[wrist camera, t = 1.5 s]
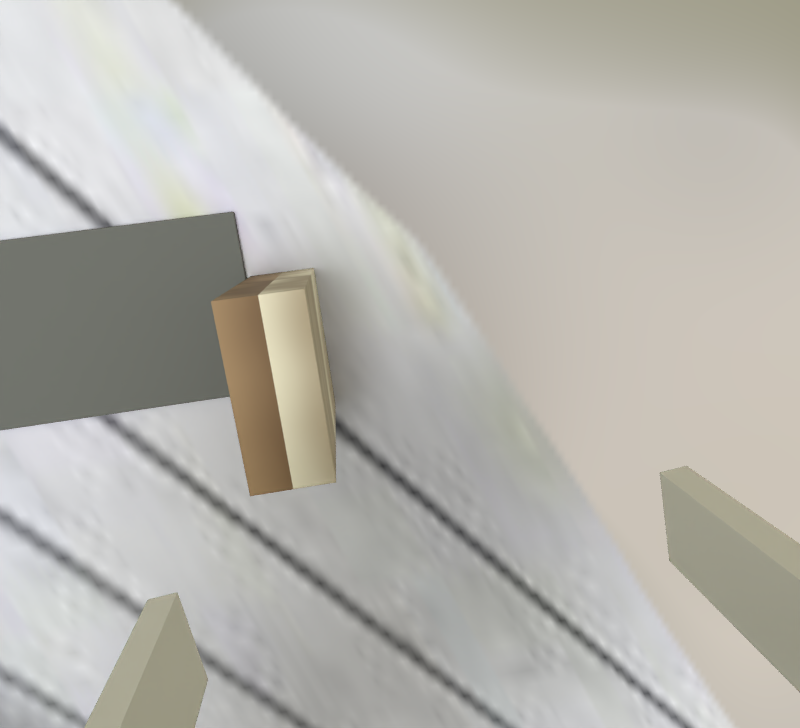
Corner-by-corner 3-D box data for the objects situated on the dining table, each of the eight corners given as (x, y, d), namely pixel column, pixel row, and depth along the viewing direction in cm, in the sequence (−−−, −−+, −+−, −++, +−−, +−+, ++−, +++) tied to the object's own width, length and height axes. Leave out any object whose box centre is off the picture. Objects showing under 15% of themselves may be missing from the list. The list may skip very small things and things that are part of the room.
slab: (275, 412, 35) (250, 495, 24) (250, 276, 33) (211, 301, 22) (335, 403, 35) (335, 482, 24) (313, 267, 33) (304, 288, 22)
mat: (-3, 428, 33) (-7, 431, 33) (-58, 248, 31) (-63, 248, 30) (267, 389, 34) (266, 390, 34) (233, 212, 32) (232, 211, 32)
